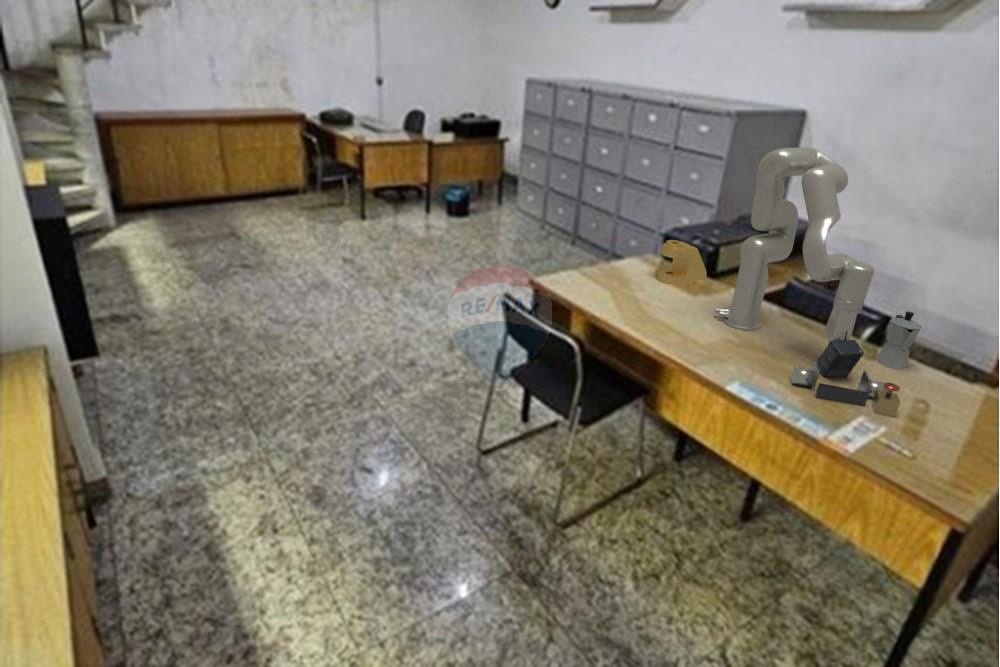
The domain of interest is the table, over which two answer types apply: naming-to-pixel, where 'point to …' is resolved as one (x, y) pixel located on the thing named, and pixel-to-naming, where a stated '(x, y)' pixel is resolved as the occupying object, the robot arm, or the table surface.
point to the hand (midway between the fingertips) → (830, 359)
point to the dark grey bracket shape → (835, 392)
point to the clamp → (681, 264)
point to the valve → (886, 400)
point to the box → (839, 358)
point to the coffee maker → (899, 341)
